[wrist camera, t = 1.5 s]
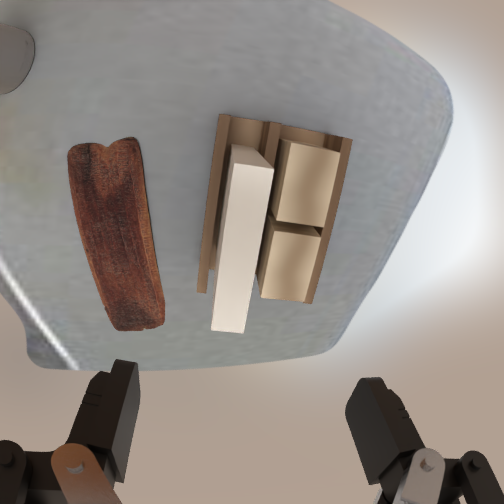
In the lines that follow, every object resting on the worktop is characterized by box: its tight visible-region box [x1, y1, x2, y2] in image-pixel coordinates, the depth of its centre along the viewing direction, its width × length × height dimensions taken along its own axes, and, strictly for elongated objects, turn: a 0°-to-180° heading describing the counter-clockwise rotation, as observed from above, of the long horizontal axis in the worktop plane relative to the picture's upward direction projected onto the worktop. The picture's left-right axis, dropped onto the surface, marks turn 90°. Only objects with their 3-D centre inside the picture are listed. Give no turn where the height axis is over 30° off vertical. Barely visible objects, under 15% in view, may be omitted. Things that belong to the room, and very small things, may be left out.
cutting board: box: [211, 144, 274, 333], centre depth 28 cm, size 2×12×16 cm, turn 171°
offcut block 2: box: [256, 208, 321, 302], centre depth 34 cm, size 4×7×8 cm, turn 171°
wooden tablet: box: [67, 137, 165, 331], centre depth 37 cm, size 26×2×10 cm
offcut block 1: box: [268, 138, 340, 227], centre depth 31 cm, size 4×7×8 cm, turn 171°
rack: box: [197, 114, 352, 304], centre depth 34 cm, size 13×18×7 cm
